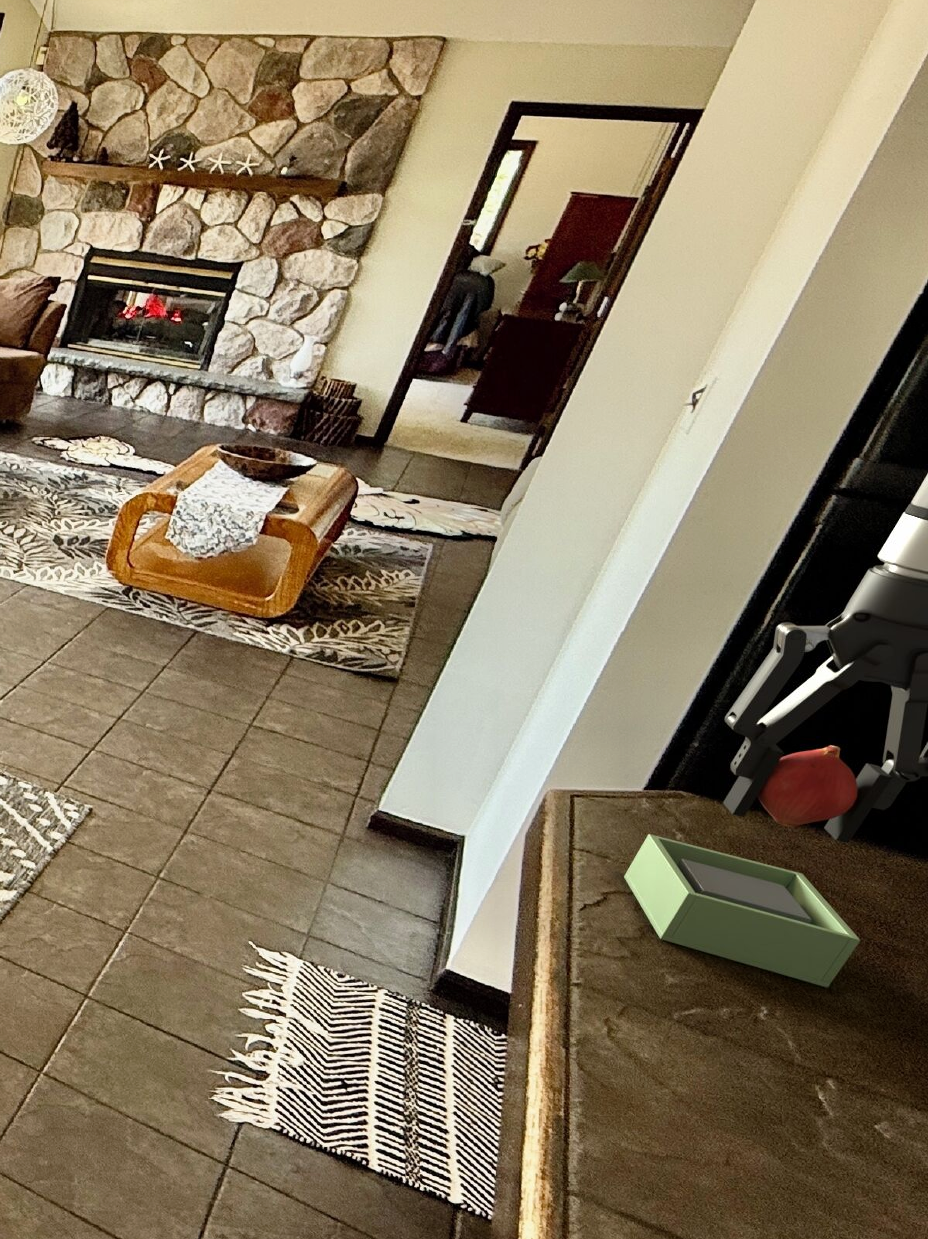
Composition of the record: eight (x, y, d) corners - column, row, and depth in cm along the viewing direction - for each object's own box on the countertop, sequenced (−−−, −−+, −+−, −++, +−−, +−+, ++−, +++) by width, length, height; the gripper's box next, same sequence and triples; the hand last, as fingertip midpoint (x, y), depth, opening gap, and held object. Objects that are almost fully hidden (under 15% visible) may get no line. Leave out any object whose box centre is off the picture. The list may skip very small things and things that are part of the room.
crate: (773, 917, 109) (802, 873, 107) (827, 987, 99) (861, 940, 97) (623, 876, 115) (648, 833, 113) (660, 939, 104) (688, 892, 102)
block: (760, 920, 108) (783, 884, 106) (787, 957, 102) (812, 919, 101) (660, 893, 111) (681, 858, 109) (681, 926, 106) (703, 890, 104)
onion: (717, 805, 105) (765, 727, 102) (780, 810, 105) (829, 732, 102) (783, 838, 100) (835, 757, 97) (849, 844, 100) (904, 763, 97)
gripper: (1091, 594, 91) (917, 842, 101) (764, 540, 100) (632, 773, 110) (1149, 618, 86) (958, 879, 95) (796, 558, 95) (653, 802, 104)
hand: (784, 822), depth 102 cm, fingers closed on onion, 6 cm apart
